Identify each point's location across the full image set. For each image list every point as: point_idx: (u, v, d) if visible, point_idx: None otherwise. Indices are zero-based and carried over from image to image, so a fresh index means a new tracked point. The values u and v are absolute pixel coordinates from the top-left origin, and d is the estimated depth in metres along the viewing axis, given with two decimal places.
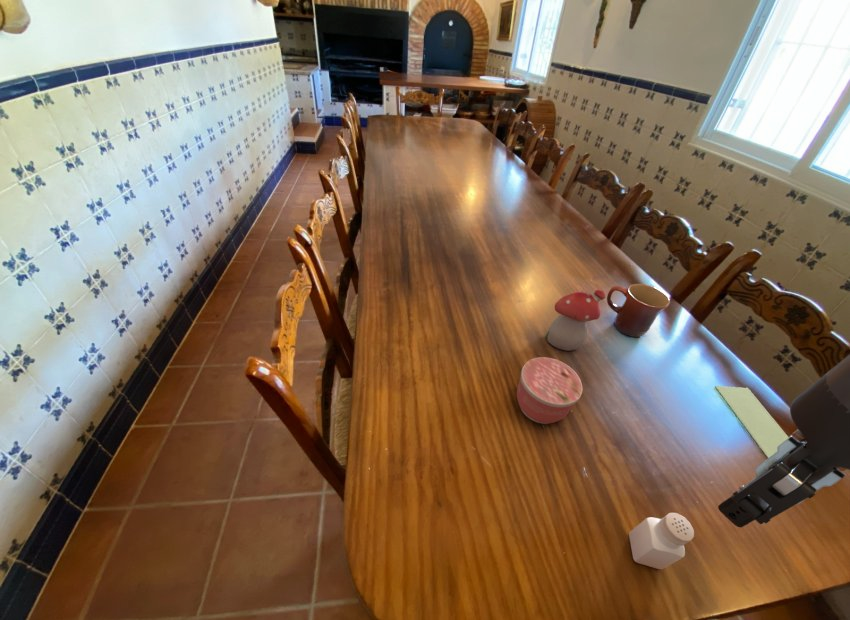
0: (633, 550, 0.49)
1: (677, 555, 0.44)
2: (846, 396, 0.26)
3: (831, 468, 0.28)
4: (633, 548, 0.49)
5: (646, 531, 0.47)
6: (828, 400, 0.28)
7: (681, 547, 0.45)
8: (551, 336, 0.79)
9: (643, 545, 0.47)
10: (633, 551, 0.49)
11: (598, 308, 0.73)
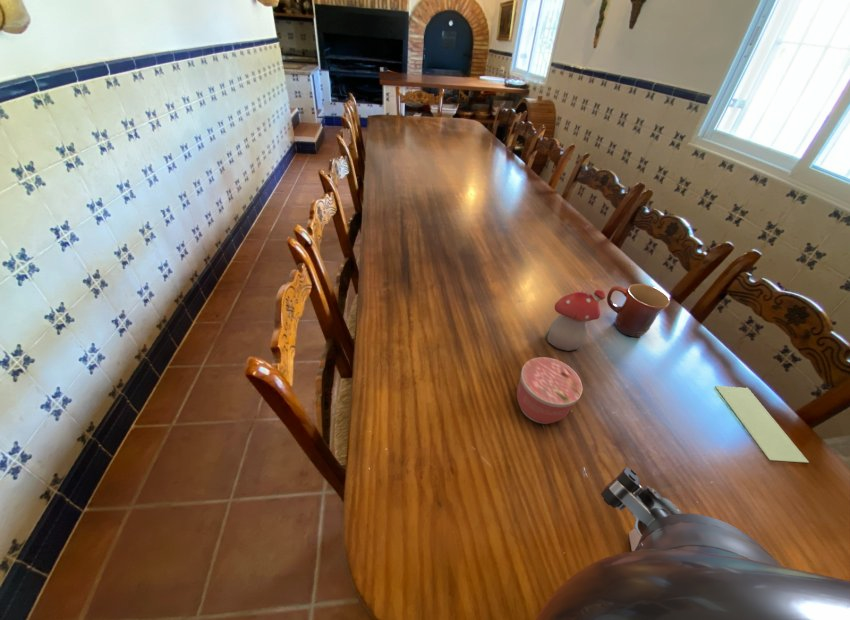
0: (633, 550, 0.49)
1: None
2: None
3: None
4: (633, 548, 0.49)
5: None
6: None
7: None
8: (551, 336, 0.79)
9: None
10: None
11: (598, 308, 0.73)
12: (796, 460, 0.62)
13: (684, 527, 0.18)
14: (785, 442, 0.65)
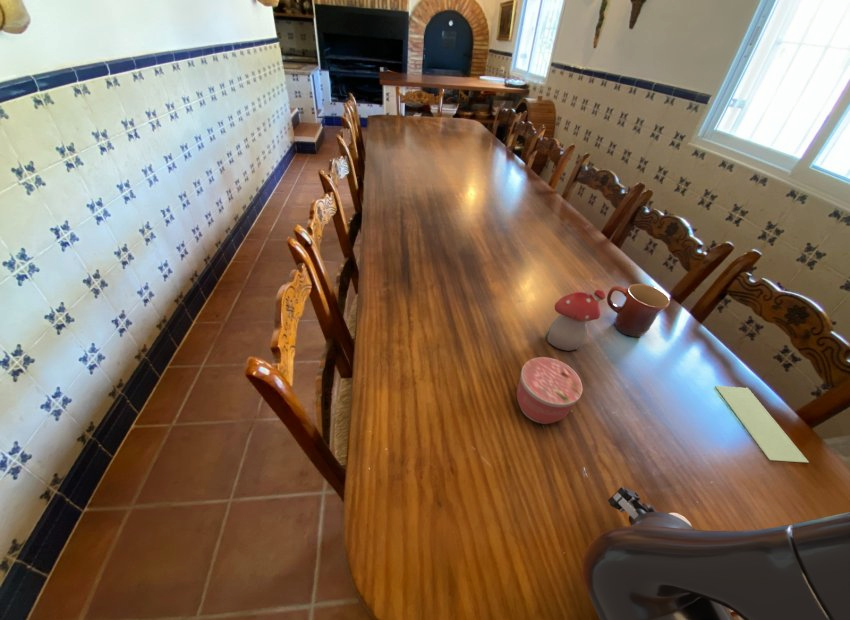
0: None
1: None
2: None
3: None
4: None
5: None
6: None
7: None
8: (551, 336, 0.79)
9: None
10: None
11: (598, 308, 0.73)
12: (796, 460, 0.62)
13: (650, 519, 0.35)
14: (785, 442, 0.65)
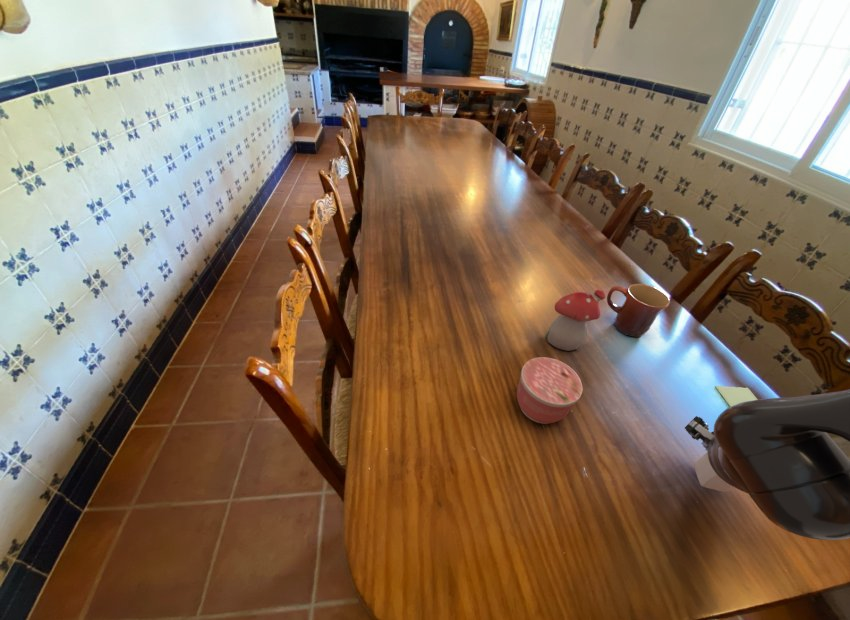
0: (700, 476, 0.57)
1: None
2: None
3: None
4: (700, 475, 0.57)
5: None
6: None
7: None
8: (551, 336, 0.79)
9: (711, 469, 0.55)
10: (700, 477, 0.57)
11: (598, 308, 0.73)
12: None
13: None
14: None
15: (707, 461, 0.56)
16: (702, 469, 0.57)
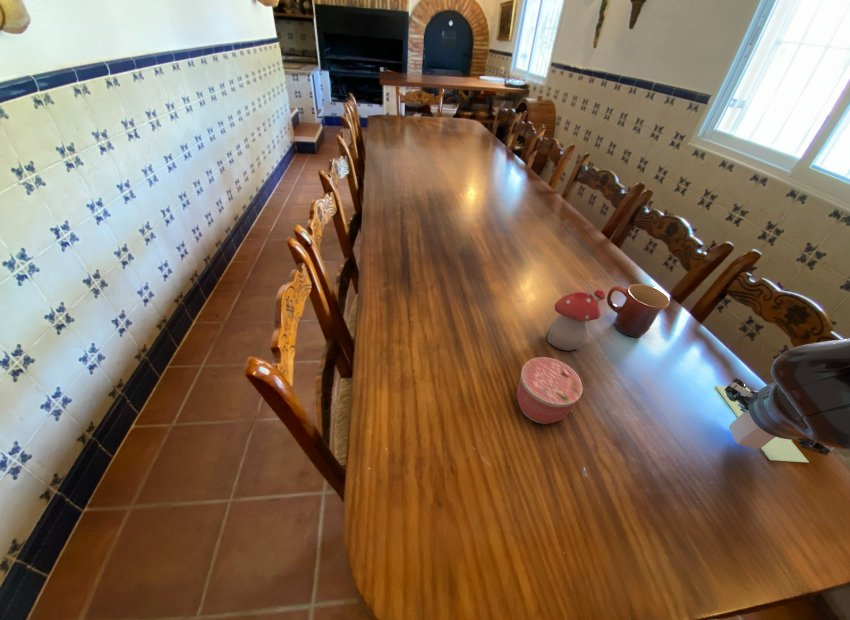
0: (735, 436, 0.63)
1: None
2: None
3: None
4: (735, 434, 0.63)
5: (749, 417, 0.61)
6: (800, 438, 0.48)
7: None
8: (551, 336, 0.79)
9: (746, 428, 0.61)
10: (735, 436, 0.63)
11: (598, 308, 0.73)
12: (796, 460, 0.62)
13: None
14: (785, 442, 0.65)
15: (742, 421, 0.62)
16: (738, 429, 0.63)
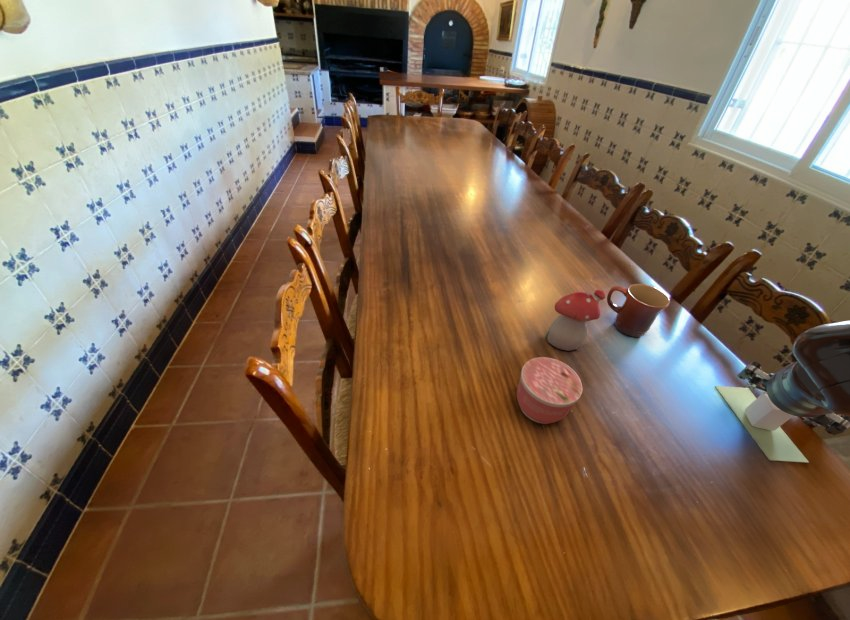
0: (751, 418, 0.67)
1: None
2: (823, 414, 0.51)
3: None
4: (751, 417, 0.67)
5: (764, 400, 0.65)
6: (816, 415, 0.52)
7: None
8: (551, 336, 0.79)
9: (762, 411, 0.65)
10: (751, 419, 0.67)
11: (598, 308, 0.73)
12: (796, 460, 0.62)
13: None
14: (785, 442, 0.65)
15: (758, 404, 0.66)
16: (753, 412, 0.67)
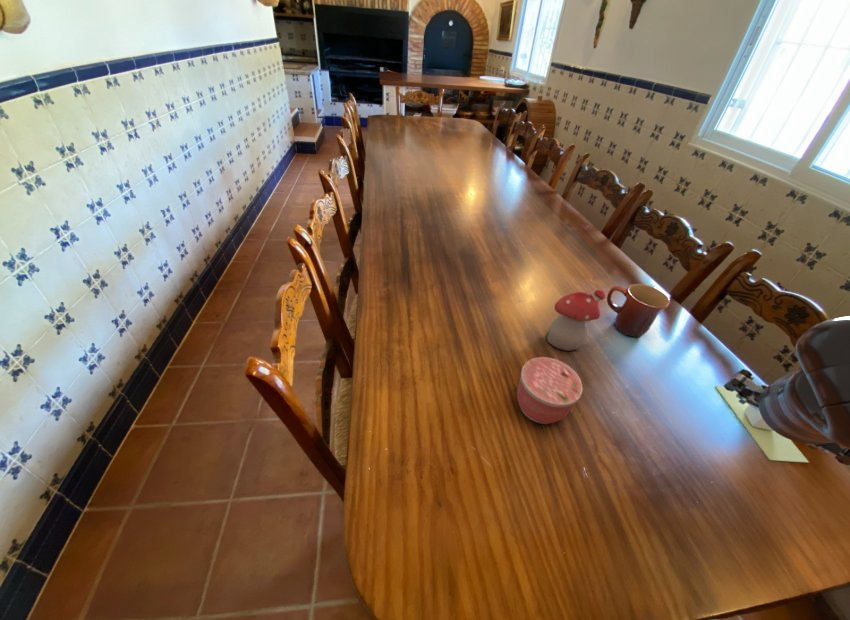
0: (751, 418, 0.67)
1: None
2: None
3: None
4: (751, 417, 0.67)
5: None
6: None
7: None
8: (551, 336, 0.79)
9: None
10: (751, 419, 0.67)
11: (598, 308, 0.73)
12: (796, 460, 0.62)
13: None
14: (785, 442, 0.65)
15: None
16: (753, 412, 0.67)
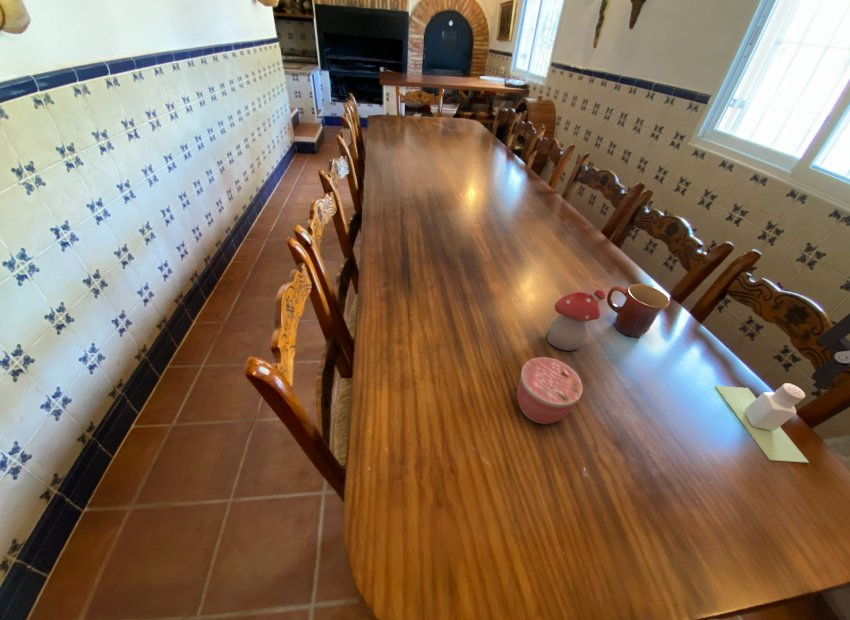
0: (751, 418, 0.67)
1: (791, 412, 0.63)
2: None
3: None
4: (751, 417, 0.67)
5: (764, 400, 0.65)
6: None
7: (793, 408, 0.63)
8: (551, 336, 0.79)
9: (762, 411, 0.65)
10: (751, 419, 0.67)
11: (598, 308, 0.73)
12: (796, 460, 0.62)
13: None
14: (785, 442, 0.65)
15: (758, 404, 0.66)
16: (753, 412, 0.67)
